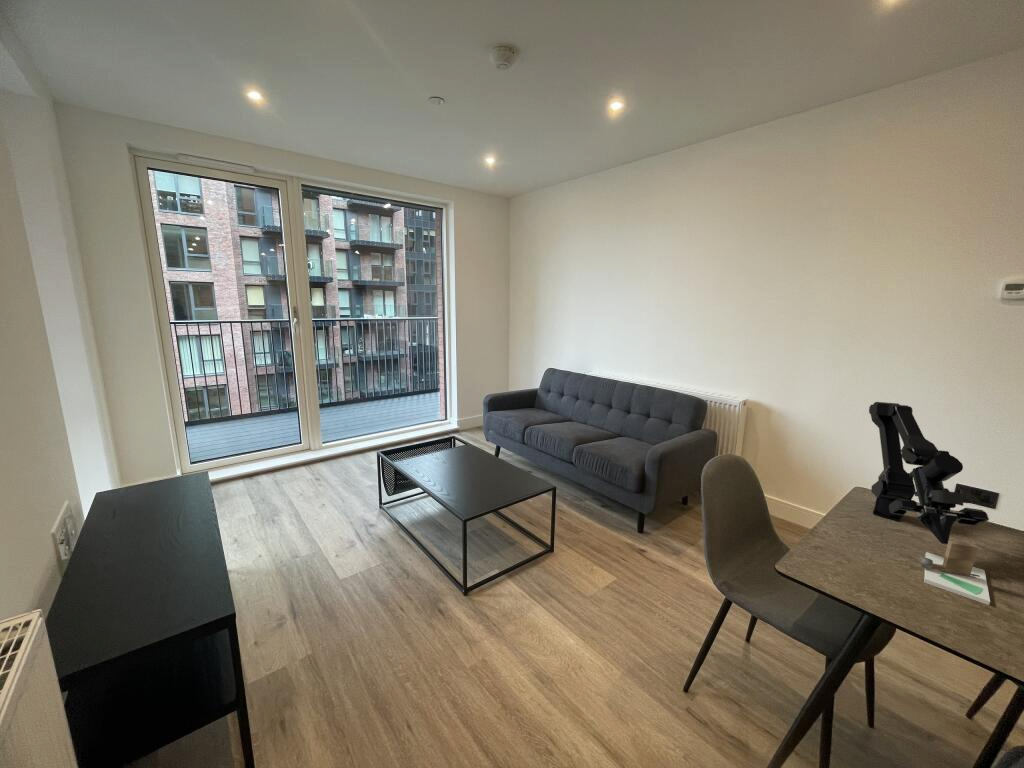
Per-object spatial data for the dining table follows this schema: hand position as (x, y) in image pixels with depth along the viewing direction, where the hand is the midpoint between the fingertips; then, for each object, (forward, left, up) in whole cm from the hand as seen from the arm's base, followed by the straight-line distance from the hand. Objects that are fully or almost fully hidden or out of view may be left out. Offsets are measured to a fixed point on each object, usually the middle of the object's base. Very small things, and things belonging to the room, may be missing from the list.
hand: (944, 543), depth 108 cm
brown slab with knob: (+2, -4, -5) cm, 7 cm away
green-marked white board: (+3, -4, -7) cm, 8 cm away
